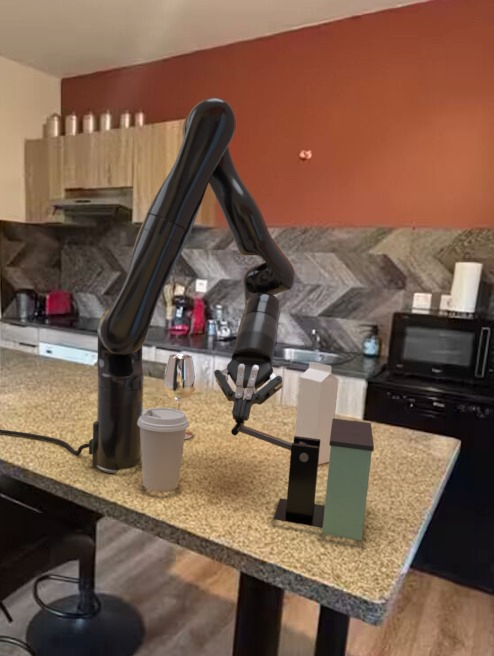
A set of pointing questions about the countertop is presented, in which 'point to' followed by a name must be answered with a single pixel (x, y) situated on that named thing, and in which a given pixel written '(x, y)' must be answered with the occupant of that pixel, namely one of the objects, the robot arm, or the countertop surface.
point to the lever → (262, 436)
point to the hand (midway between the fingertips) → (239, 420)
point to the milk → (317, 406)
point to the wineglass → (179, 380)
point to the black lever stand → (302, 486)
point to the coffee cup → (162, 447)
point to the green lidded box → (347, 478)
